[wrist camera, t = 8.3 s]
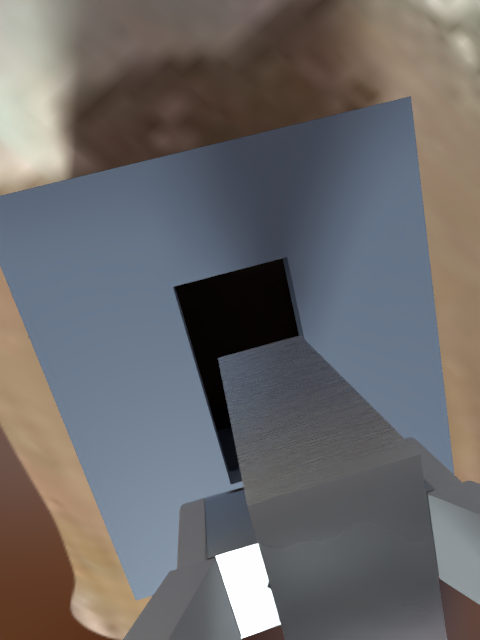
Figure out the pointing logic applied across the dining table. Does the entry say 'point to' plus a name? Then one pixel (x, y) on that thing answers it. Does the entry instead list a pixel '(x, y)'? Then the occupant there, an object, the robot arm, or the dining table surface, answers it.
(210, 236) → the coin box
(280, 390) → the grey rectangular block
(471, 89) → the dining table surface
